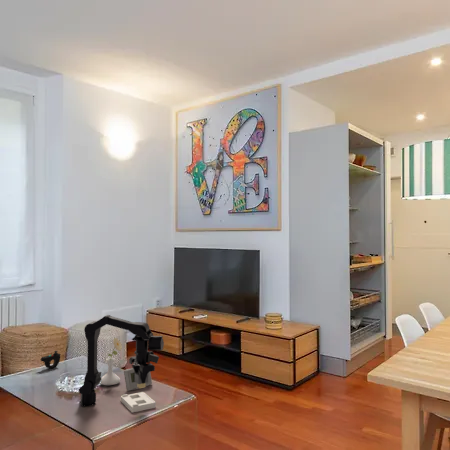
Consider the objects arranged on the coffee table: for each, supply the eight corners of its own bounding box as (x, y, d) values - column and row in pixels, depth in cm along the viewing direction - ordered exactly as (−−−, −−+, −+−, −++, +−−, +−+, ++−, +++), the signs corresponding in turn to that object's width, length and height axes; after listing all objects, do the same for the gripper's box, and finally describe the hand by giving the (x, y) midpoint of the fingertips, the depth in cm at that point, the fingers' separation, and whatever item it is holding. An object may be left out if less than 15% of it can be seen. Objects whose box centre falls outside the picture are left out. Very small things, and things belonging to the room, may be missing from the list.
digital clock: (126, 392, 223) (126, 372, 223) (120, 387, 230) (121, 367, 230) (154, 387, 231) (155, 367, 232) (148, 382, 239) (148, 363, 239)
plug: (138, 389, 200) (138, 374, 200) (134, 386, 204) (134, 371, 204) (148, 387, 203) (148, 372, 203) (144, 384, 207) (144, 370, 207)
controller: (61, 366, 264) (61, 350, 264) (43, 371, 253) (43, 354, 254) (57, 365, 266) (57, 349, 266) (39, 370, 256) (39, 353, 256)
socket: (131, 412, 196) (132, 405, 197) (120, 401, 210) (120, 394, 210) (155, 407, 203) (155, 401, 203) (143, 396, 216) (143, 390, 216)
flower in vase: (109, 388, 227) (110, 342, 228) (94, 384, 233) (96, 339, 234) (126, 382, 238) (127, 337, 239) (112, 378, 244) (113, 335, 245)
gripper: (165, 351, 201) (164, 384, 200) (149, 343, 216) (149, 373, 216) (143, 354, 195) (142, 388, 194) (129, 346, 210) (128, 377, 210)
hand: (141, 381), depth 203 cm, fingers closed on plug, 5 cm apart
